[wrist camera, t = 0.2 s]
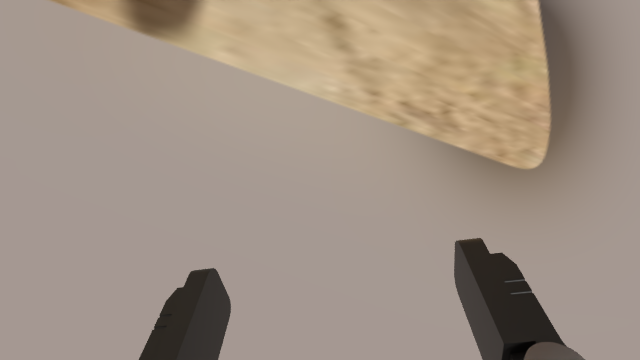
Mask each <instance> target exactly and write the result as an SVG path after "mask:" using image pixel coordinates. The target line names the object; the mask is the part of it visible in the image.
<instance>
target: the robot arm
mask: <svg viewBox="0 0 640 360" xmlns="http://www.w3.org/2000/svg"><path fill="white" fill-rule="evenodd" d="M454 268H455V269H454V277H455V284H456V288H457V291H458V295H459V297H460V300H461V303H462V305H463V308H464V311H465V313H466V316H467V319H468V321H469V324H470V327H471V329H472V332H473V335H474V338H475V340H476V343H477V345H478V348H479V351H480V353H481V356H482V359H483V360H585V359H584V358H583V357H582V356H581V355H579V354H578V353H577V352H575V351H574V350H572V349H571V348H568V347H567V346H566V345H565V344H564V343H563V341H562V340H561V339H560V337H559V335H558V334H557V332H556V330H555V329H554V327H553V325H552V324H551V322H550V320H549V319H548V317H547V315H546V314H545V312H544V310H543V308H542V307H541V305H540V303H539V302H538V300H537V298H536V297H535V295H534V294H533V293H532V290H531V288H530V287H529V285H528V283H527V282H526V281H525V278H524V277H523V275H522V273H521V272H520V270H519V268H518V267H517V265H516V264H515V263H514V262H513V261H511V260H510V259H509V258H508V257H507V256H505V255H504V254H503V253H495V254H490V253H489V251H488V249H487V247H486V245H485V244H484V242H483V240H482V239H481V238H477V239H467V240H459V241H456V242H455V266H454ZM230 310H231V304H230V299H229V296H228V294H227V292H226V290H225V287H224V285H223V283H222V281H221V279H220V276H219V274H218V272H217V271H216V269H214V268H212V269H203V270H195V271H191V272H190V274H189V276H188V278H187V281H186V283H185V285H184V287H182V288H177V290H175V292H174V293H173V294H172V295H171V296H170V297H169V299H168V300H167V301H166V303H165V305H164V307H163V309H162V311H161V313H160V318H158V320H157V322H156V324H155V326H154V330H152V333H151V335H150V337H149V339H148V341H147V343H146V345H145V348H144V350H143V352H142V354H141V356H140V358H139V360H218V357H219V354H220V350H221V346H222V343H223V339H224V336H225V332H226V328H227V325H228V321H229V317H230V312H231V311H230Z"/></svg>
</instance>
